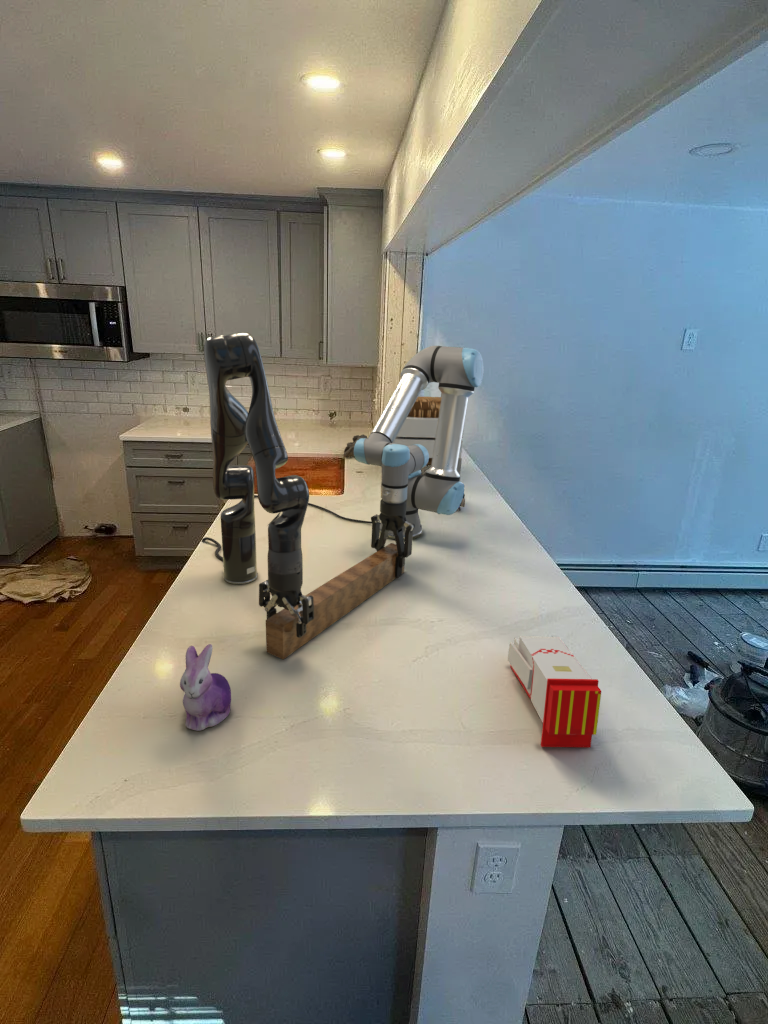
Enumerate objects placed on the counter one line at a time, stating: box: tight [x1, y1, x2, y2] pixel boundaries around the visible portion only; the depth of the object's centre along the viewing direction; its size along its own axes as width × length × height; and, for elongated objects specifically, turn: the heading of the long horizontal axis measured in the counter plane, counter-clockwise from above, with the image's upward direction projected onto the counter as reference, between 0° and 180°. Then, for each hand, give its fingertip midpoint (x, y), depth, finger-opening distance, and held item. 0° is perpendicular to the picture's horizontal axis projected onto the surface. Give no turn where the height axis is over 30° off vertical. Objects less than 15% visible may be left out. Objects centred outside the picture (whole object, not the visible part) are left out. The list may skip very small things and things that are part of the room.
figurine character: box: [457, 493, 466, 511], centre depth 229 cm, size 7×8×15 cm
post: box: [265, 542, 405, 660], centre depth 148 cm, size 55×5×8 cm, turn 149°
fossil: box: [343, 434, 368, 459], centre depth 304 cm, size 22×10×15 cm
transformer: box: [393, 392, 465, 476], centre depth 268 cm, size 34×33×41 cm
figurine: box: [179, 643, 232, 732], centre depth 106 cm, size 9×10×15 cm
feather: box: [266, 512, 281, 527], centre depth 211 cm, size 2×28×2 cm
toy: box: [507, 635, 602, 748], centre depth 115 cm, size 12×13×30 cm
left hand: (286, 630), depth 129 cm, fingers open, 8 cm apart
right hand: (389, 573), depth 169 cm, fingers closed on post, 5 cm apart
